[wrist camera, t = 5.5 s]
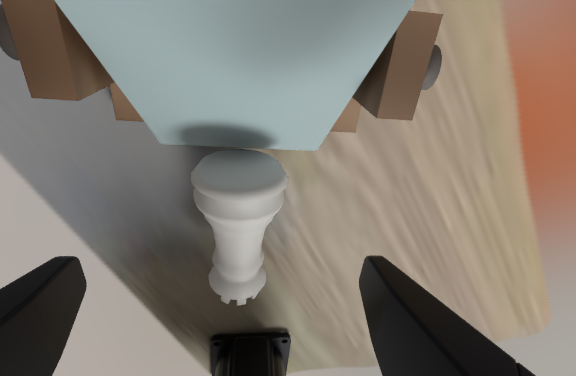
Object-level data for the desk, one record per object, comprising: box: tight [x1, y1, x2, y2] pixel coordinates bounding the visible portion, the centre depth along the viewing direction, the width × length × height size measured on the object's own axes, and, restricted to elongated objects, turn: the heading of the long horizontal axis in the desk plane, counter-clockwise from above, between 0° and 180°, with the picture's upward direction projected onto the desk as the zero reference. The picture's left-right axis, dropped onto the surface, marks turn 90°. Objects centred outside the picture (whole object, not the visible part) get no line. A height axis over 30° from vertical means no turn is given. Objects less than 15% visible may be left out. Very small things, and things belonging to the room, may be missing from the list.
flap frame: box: [0, 0, 443, 133], centre depth 11 cm, size 8×12×7 cm, turn 85°
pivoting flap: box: [55, 0, 416, 151], centre depth 9 cm, size 14×8×2 cm
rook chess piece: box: [190, 149, 288, 306], centre depth 16 cm, size 4×4×8 cm
